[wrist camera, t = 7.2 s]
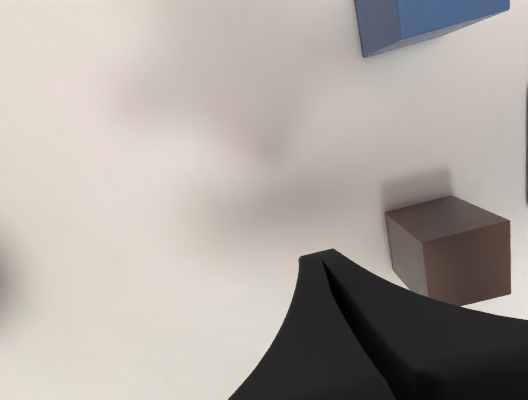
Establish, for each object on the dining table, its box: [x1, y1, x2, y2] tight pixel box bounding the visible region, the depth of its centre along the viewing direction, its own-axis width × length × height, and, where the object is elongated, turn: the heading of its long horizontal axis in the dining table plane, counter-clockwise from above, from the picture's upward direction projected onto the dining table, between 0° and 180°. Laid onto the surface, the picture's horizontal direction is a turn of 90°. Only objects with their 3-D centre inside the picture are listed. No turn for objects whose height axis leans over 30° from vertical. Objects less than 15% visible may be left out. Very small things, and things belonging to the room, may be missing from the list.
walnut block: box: [385, 196, 511, 306], centre depth 18 cm, size 4×4×4 cm
